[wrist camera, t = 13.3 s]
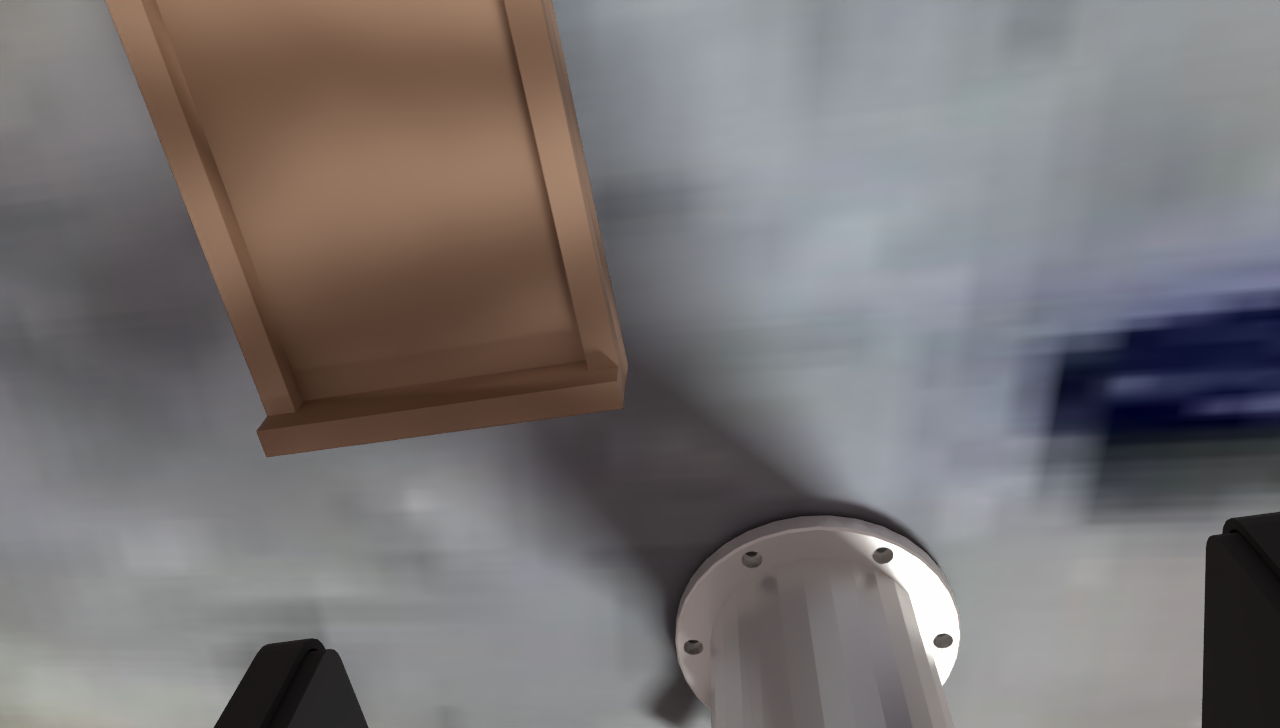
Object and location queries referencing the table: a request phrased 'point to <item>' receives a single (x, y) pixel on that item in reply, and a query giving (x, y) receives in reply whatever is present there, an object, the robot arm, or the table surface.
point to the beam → (387, 209)
